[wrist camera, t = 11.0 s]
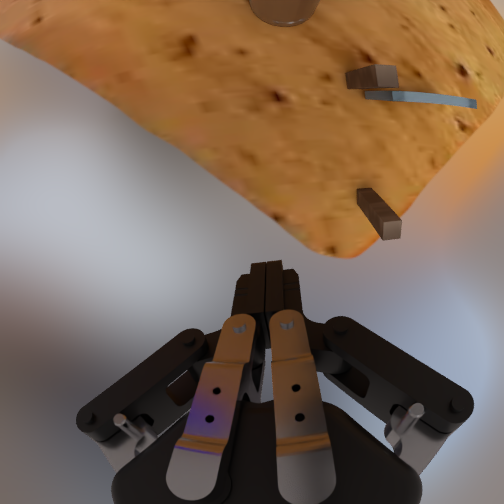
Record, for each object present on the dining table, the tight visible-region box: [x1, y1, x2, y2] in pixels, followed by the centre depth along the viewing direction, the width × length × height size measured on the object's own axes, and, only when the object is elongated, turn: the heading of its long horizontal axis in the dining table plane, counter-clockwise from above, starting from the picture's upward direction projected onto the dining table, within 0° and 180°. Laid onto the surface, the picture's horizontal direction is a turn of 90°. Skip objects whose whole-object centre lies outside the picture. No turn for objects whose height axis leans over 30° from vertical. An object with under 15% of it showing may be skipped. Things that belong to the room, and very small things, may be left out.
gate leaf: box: [365, 91, 477, 109], centre depth 26 cm, size 13×1×10 cm, turn 101°
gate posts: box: [345, 64, 402, 240], centre depth 31 cm, size 21×2×12 cm, turn 10°
